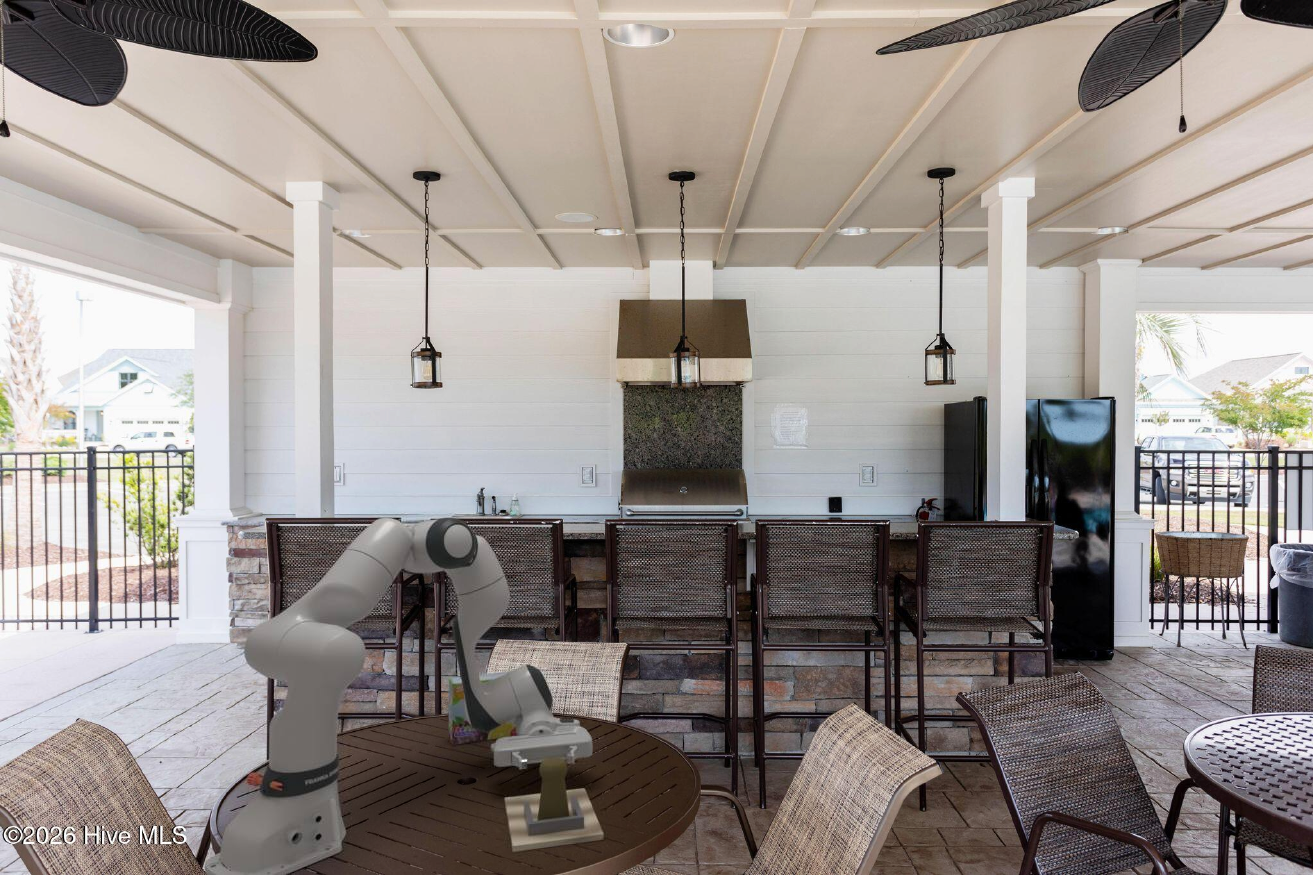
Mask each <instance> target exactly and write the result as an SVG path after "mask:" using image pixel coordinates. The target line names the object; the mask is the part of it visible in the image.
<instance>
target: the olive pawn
mask: <svg viewBox="0 0 1313 875" xmlns="http://www.w3.org/2000/svg"><path fill="white" fill-rule="evenodd" d="M567 773H568V764H567V762H566V760H564V759H562V758H559V757H550V758H547V759H545V760H543V761H542V762H540V764H539V775H540V778H541V779H542V780H541V788H540V793H541V795H540V803H539V811H538V819H537V821H539V820H546V819H554V818H562V817H570V816H569V808H568V800H567V793H566V790H567V788H566V787H567V786H566V779H565V777H566V776H567Z"/></svg>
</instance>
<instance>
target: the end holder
mask: <svg viewBox="0 0 1313 875" xmlns="http://www.w3.org/2000/svg"><path fill="white" fill-rule="evenodd" d="M571 809H572V812H573V815H574V816H570V817H562V818H554V819H546V820H539V821H533V817H532V812H531V808H530V804H529V802H527V803H524V817H525V821H526V826H527V831H528V836H531V835H538V834H546V833H553V832H561V831H568V830H576V829H583V828H584V816H583V813H582V811H581V808H580V805H579V803H578V800H577V797H571Z"/></svg>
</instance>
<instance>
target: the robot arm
mask: <svg viewBox="0 0 1313 875" xmlns="http://www.w3.org/2000/svg"><path fill="white" fill-rule="evenodd" d="M400 572H401V573H405V574H409V575H418V574H434V573H438V572H445V573H446V574H447V575H448V577H449V578H450V579H451V582H452V585H453V588H454V591H455V594H456V597H457V600H458V612H457V616H456V617H455V618H454V619H453V621H452V634H453V635H452V636H453V642H454V648H455V654H456V659H457V664H458V669H459V675H460V677H461V680H462V685H463V690H464V708H465V714H466V717H467V720H468V722H469V724H470V725H471V726H472V728H473V729H476V730H478V731H482V732H490V731H492V730H493V729H495V728H497V727H499V726H500V725H502V724H503V723H505V722H507V721H509V720H511V719H514V718H515V727H516V733H517V736H511V737H503V738H498V739H495V740H496V741H495V742H494V743H491V744H490V750H491V752H493V765H494V766H496V767H497V768H498V767H499V768H502V767H512V766H513V767H514V766H515V767H517V768H518V769H519V770H526V769H528V765H529V764H530V765H531V764H539V763H540V764H541V762H542V761H543V760H545V759H547V758H550V757H559V758H562V759H564V760H565V761H566V763H567V765H572V764H575V763H576V762H575V760H577V759H583V758H590V757H591V756H592V755H593V746H594V745H593V738H592V736H591V734H590V733H589V732H588V730H587V729H586V728H584V727H583V726H581V724H580V720H578V719H573V718H572V719H571V718H569V719H567V718H560V717H559V718H558V717H556V716H555V717H554V715H553V713H552V711H551V709H552V706H553V702H554V699H553V696H552V693H551V690H550V687H549V685H548V683H547V680H546V678H545V676H544V675H543V673H542V672H541V670H540V669H539V668H537V667H535V666H534V665H531V664H524V665H522V666H519V667H517V668H515V669H512V670H509V671H510V672H508V671H507V672H508V673H507V674H504V675H502V676H500V677H498V678H495V679H493V680H491V681H489V682H486V683H482V682H481V681H480V678H479V675H480V674H479V668H478V664H477V658H476V652H475V650H476V646H477V644H478V643H479V640H480V639H481V638H482V637H483V635H484V634H485V633H486V632H487V631H488V630H489V629H490V628H491V627H493V626H494V625H495V624H496V623H497V622H498V621H499V620H500V619H501V618H502V617H503V615H504V614H505V612H506V610H507V609H508V607H509V605H510V604H509V603H510V600H511V593H510V592H511V591H510V589H509V585H508V581H507V578H506V575H505V573H504V571H503V568H502V566H501V564H500V561H499V559H498V558H497V556H496V554H495V552H494V550H493V549H492V546H490V544H489V542H488V541H487V540H486V539H485V538H484V537H483V536H481V535H476V534H475V533H474V531H473V529H472V528H471V527H470V526H469V525H468V524H467V523H466V522H465V521H464V520H461V519H460V518H456V517H442V518H438V519H429V520H423V521H420V522H415V523H413V524H411V525H405V524H404V523H403V522H401V521H399V520H397V519H395V518H392V517H391V518H390V517H381V518H378V519H376V520H375V521H373V522H372V523H371V524H369V525H368V526H367V527H366V528H365V529H364V530H363V531H362V532H360V534H358V536H356V537H355V539H354V540H353V541H352V542H351V543H350V544H348V546H347V548H346V549H345V550H344V551H343V552H342V554H340V556H339V558H337V560H336V561H335V562H334V564H333V565H332V566H331V567H330V568H329V570H327V572H326V574H325V575H324V576H323V577H322V578H321V579H320V580H319V582H317V584H316V585H314V586H313V587H312V588H311V589H310V590H309V591H308V592H306V593H305V594H304V595H303V596H301V597H300V598H299V599H298V600H297V601H295V602H294V603H293V604H291V605H290V606H289V607H287V609H284V610H283V611H281V613H279V614H277V615H275V616H274V617H271V618H269V619H267V620H264V621H263V622H261V623H259V624H257V625H256V626H255V627H254V628H252V630H251V631H250V632H249V634H248V636H247V638H246V640H245V644H244V648H243V649H244V651H243V652H244V653H243V654H244V658H245V661H246V663H247V665H248V666H249V667H251V669H253V670H254V671H255V672H257V673H259V674H260V675H262V676H264V677H265V678H267V679H273V680H276V681H280V682H281V681H282V682H286V684H287V692H286V698H285V701H284V704H283V707H282V708H281V709H279V711H278V712H276V713H275V714H274V716H273V717H272V718H271V720H270V723H269V731H268V732H269V739H268V740H269V742H268V744H269V745H268V746H269V748H268V749H269V750H268V754H269V756H268V758H269V759H268V764H267V765H266V768H265V771H264V773H263V775H262V774H260V773H257V772H251V773H249V774H248V775H247V777H246V784H248V785H249V786H253V787H259V788H258V790H259V791H257V793H256V794H255V795H254V797H252V798H251V800H250V801H249V802H248V803H247V804H246V805H245V806H244V807H243V809H242V810H240V812H239V813H238V814H237V815H236V816H235V817H234V818H233V819H232V820H231V822H229V823H228V824H227V825H226V827H225V830H224V832H223V836H222V840H221V846H220V852H219V853H216V854H215V855H213V856H211V857H210V858H207V859H206V861H205V865H204V871H205V874H206V875H288V874H290V873H292V872H295V871H298V870H300V869H302V868H305V867H308V866H309V865H313V864H314V863H317V862H319V861H323V860H324V859H326V858H329V857H331V856H335V855H337V854H339V853H340V852H341V851H342V850H343V847H342V844H343V843H342V841H343V840H344V839H345V837H346V834H347V830H346V827H345V824H344V820H343V817H342V812H341V806H340V798H339V791H338V790H339V788H338V787H339V786H338V778H339V777H340V756H339V754H338V753H337V752H338V751H337V750H338V749H337V748H338V746H337V745H338V742H337V741H338V740H337V739H338V719H339V718H338V717H339V711H340V707H341V703H342V700H343V697H344V695H345V692H346V690H347V688H348V687H349V686H350V684H353V682H354V681H355V680H356V679H358V677H359V675H360V674H361V672H362V670H363V668H364V666H365V663H366V658H367V653H366V645H365V643H364V641H363V639H362V638H361V637H360V635H359V634H358V635H357V633H354V632H352V631H350V630H349V629H347V628H348V627H350V626H351V625H353V624H355V623H357V622H359V621H362V620H363V619H365V618H366V617H368V616H369V615H370V614H371V613H372V612H373V610H374V609H375V607H376V606H377V605H378V604H379V602H380V601H381V599H382V597H383V596H384V595H385V593H386V592H387V591H388V589H389V588H390V586H391V585H392V584H393V583H394V581H395V579H396V578H397V576H398V575H399V573H400ZM219 859H220V860H219ZM221 862H222V863H223V864H224V865H225V866H226V867H227V869H226V867H224V866H223V865H222V863H221ZM230 870H231V871H230Z"/></svg>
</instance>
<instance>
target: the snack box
mask: <svg viewBox="0 0 1313 875" xmlns="http://www.w3.org/2000/svg"><path fill="white" fill-rule="evenodd" d="M510 671H511V670H509V671H501V672H500V671H499V672H492V673H482V674H479V678H480V681H481V682H482V683H486V682H489V681H491V680H493V679H495V678H498V677H500V676H502V675H504V674H507V673H508V672H510ZM510 736H517V733H516V727H515V718H514V719H511V720H509V721H507V722H505V723H503V724H502V725H500V726H499V727H497V728H495V729H493V730H492V731H490V732H482V731H478V730H476V729H473V728H472V726H471V725H470V724H469V722H468V720H467V717H466V714H465V708H464V690H463V685H462V680H461V676H457V677H449V678H448V739H449V741H450V743H451V745H452V746H455V745H463V744H469V743H477V742H483V741H489V740H497V739H499V738H503V737H510Z"/></svg>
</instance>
